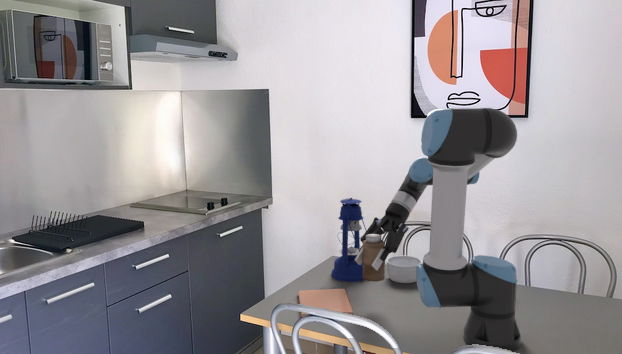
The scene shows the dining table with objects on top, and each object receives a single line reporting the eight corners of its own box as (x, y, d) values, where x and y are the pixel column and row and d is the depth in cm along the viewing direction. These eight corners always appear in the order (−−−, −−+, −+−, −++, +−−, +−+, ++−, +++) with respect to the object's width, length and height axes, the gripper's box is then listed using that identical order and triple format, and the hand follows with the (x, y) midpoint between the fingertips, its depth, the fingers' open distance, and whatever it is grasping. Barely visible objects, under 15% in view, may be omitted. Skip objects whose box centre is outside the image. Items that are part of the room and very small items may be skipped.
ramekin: (424, 285, 192) (424, 266, 190) (387, 284, 192) (387, 266, 191) (419, 272, 205) (419, 255, 203) (385, 272, 205) (385, 255, 204)
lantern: (340, 266, 214) (339, 192, 209) (376, 270, 208) (376, 195, 203) (324, 279, 198) (323, 201, 194) (363, 284, 192) (363, 203, 188)
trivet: (352, 316, 165) (352, 311, 165) (301, 318, 164) (301, 314, 164) (344, 292, 185) (344, 288, 185) (298, 294, 184) (298, 290, 184)
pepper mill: (386, 281, 169) (386, 238, 167) (364, 282, 169) (364, 239, 167) (382, 274, 176) (382, 232, 174) (361, 274, 176) (361, 233, 174)
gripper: (429, 219, 172) (394, 279, 164) (383, 210, 187) (350, 264, 179) (418, 205, 167) (382, 266, 160) (373, 197, 183) (338, 252, 175)
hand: (365, 265), depth 169 cm, fingers closed on pepper mill, 7 cm apart
